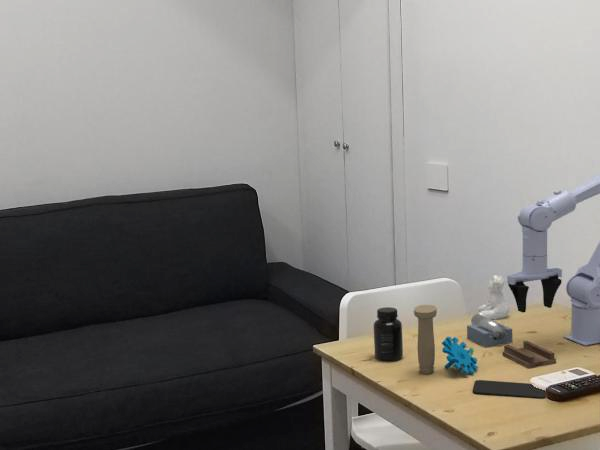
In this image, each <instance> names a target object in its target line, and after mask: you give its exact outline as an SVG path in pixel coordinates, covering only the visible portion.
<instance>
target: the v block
mask: <svg viewBox="0 0 600 450" xmlns="http://www.w3.org/2000/svg"><path fill="white" fill-rule="evenodd" d="M493 321H494V322H496V323H499V322H497V321H495V320H493ZM499 324H501V325H503V326H504V327H505V329H506V333H505V335H504V336H503V337H502V338H500V339H497V338H495V337H494V336H492V335H490V333H489V332H487V331H484V330H482V329H480V328H478V327H476V326H474V325H472V324H467V325H466V339H467V340H468V341H471V342H473V343H475V344H476V345H477V344H478V345H479V346H481V347H484V348H491V347H494V346H500V345H508V344H511V343H513V328H511V327H508V326H506V325H504V324H502V323H499Z"/></svg>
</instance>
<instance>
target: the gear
mask: <svg viewBox="0 0 600 450" xmlns="http://www.w3.org/2000/svg"><path fill="white" fill-rule="evenodd" d="M459 342H460V340H459V338H458V337H455V336H454V337H453V338H452V336H446V337H445V339H444V340H443V341H441V344H442V346H443V347H442V353H444V354H447V356H446V360H447V363H446V364H445V365H444V366H443V367H444V369H446V370H448V369H450V367H452V366H453V368H454V369H455V370H459V369H460V368H462V369H461V373H462V374H463V375H467V374H469V375H474V374H475V373H476V372H475V371H477V370H478V369H479V366H478V365H477V363H478V359H477V358H476V357H473V355H474V352H475V349H474V348H473V347H470V348H469V349H466V347H467V344H466V342H465V341H462V342H461V343H459ZM458 343H459V344H458Z"/></svg>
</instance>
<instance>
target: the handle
mask: <svg viewBox="0 0 600 450" xmlns="http://www.w3.org/2000/svg"><path fill="white" fill-rule="evenodd" d="M437 309H438V308H437V307H436V305H432V304H420V305H417V306H415V307H414V309H413V313H414V314H413V315H414V317H416V318H417V322H418V323H417V324H418V325H417V360H418V369H419V372H420V373H421V374H423V375H426V374H427V375H430V374H433V373H434V372H435V366H434V365H435V361H436V357H435V356H436V348H435V347H436V346H435V345H436V344H435V335H434V334H435V333H434V318H435V317H436V316H437Z"/></svg>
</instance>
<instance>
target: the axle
mask: <svg viewBox="0 0 600 450" xmlns="http://www.w3.org/2000/svg"><path fill="white" fill-rule="evenodd" d="M494 321H495V320H490V319H488V318H486V317H484V316H482V315H480V314H478V313H476V314H474V315H473V316H472V317H471V320H470V322H471V325H474V326H476V327H478V328H480V329H482V330H484V331H487V332H489V333H490V335H492V336H494V337H495V338H497V339H500V338H502V337H503V336H504V335H505V333H506V329H505V327H504V326H505V325H504V324H502V323H500V324H499V322H497V321H495V322H494ZM496 322H497V323H496ZM501 324H502V325H501ZM503 325H504V326H503Z"/></svg>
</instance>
